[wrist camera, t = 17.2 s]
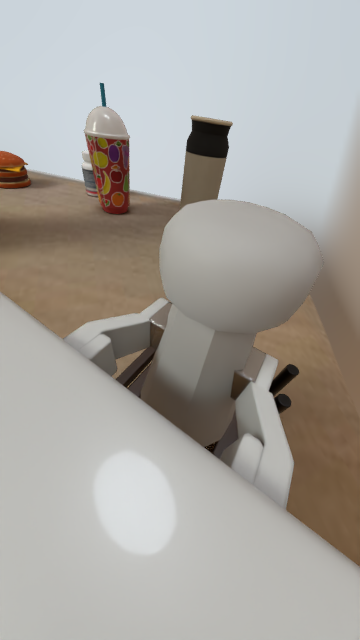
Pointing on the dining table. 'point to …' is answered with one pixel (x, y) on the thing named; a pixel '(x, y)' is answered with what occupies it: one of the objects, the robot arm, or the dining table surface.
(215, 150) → the travel mug
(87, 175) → the pill bottle
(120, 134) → the smoothie
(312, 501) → the dining table surface
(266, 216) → the salt shaker
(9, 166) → the hamburger
